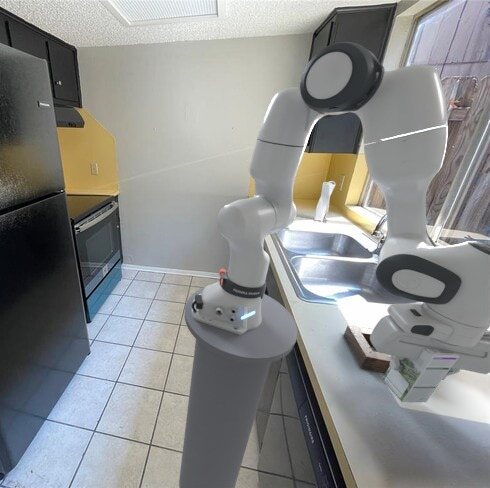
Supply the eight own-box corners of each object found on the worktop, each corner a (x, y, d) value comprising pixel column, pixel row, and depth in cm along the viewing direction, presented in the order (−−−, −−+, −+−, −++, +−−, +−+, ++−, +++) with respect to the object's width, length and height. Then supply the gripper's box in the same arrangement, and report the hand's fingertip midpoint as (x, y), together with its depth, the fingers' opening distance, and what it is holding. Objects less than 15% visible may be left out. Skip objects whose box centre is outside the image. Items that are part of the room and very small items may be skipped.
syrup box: (426, 403, 56) (463, 355, 50) (400, 402, 56) (433, 354, 49) (404, 379, 61) (434, 333, 55) (380, 379, 61) (408, 332, 55)
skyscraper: (325, 222, 177) (338, 182, 166) (312, 220, 181) (323, 180, 170) (325, 219, 184) (337, 180, 172) (313, 217, 188) (324, 178, 176)
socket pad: (360, 367, 67) (366, 356, 65) (343, 335, 78) (347, 324, 76) (415, 379, 64) (422, 367, 63) (389, 343, 75) (394, 333, 74)
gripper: (498, 323, 50) (460, 372, 56) (380, 303, 55) (356, 350, 60) (531, 347, 45) (485, 399, 51) (397, 323, 49) (369, 373, 55)
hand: (414, 372), depth 56 cm, fingers closed on syrup box, 6 cm apart
